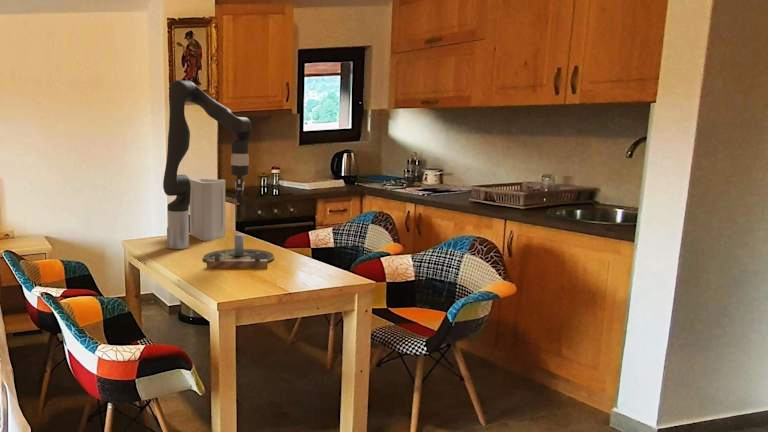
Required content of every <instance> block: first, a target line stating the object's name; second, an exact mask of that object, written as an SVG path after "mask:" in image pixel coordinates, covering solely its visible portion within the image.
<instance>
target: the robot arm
mask: <svg viewBox="0 0 768 432" xmlns="http://www.w3.org/2000/svg"><path fill="white" fill-rule="evenodd" d="M168 89H169V90H168V100H169V103H168V104H169V119H168V120H169V121H168V122H169V123H168V133H167V153H166V164H165V168H164V175H163V183H162V187H163V192H164V194H165V195H166V196H169V197H173V196H174V197H175V196H176V197H175V198H174V200H172V201H171V202H169V203H168V204H167V227H166V248H167V249H172V250H182V249H183V250H184V249H188V248H189V247H190V192H191V184H190V180H189V179H190V177H189V176H188V175H187V174H178V169H179V167H180V163H181V162H182V160H183V159H184V157H185V156H186V154H187V152H188V150H189V148H190V143H191V142H190V140H191V130H190V126H189V125H188V121H187V119H186V115H185V105H186V103H188V102H190V103H192V104H195V105H197V106H198V107H200V108H202V109H203V111H204V112H205V113H206V115H208V116H209V117H210V118H211V119H213V120H215V121H216V122H218V123H219V124H221V125H222V126H223V127H224V128H226V130H228V131H229V132H230V133H233V134H235V136H236V137H235V138H234V140H232V142H231V156H230V175H231V176H236V178H235V179H234V184H235V185H234V186H235V190H236V191H235V193H236V203H237V204H242V203H243V200H244V199H243V198H244V189H245V181H246V180H245V178H244V176H245V177H247V176H249V175H250V164H249V163H250V158H249V143H250V138H251V134H252V123H251V120H250V119H249V118H248V117H245V116H236V115H235V114H233V111H232V110H231V109H229V108H228V107H227V106H225V105H223V104H221V103H220V102H218V101H217V100H215V99H213V98H212V97H211V96H209V95H208V94H207V93H206V92H204V91H203V90H202V89H201V88H200V87H199V86H197V85H196V84H195V83H194V82H193V81H191V80H186V79H185V80H181V79H180V80H173V81H172V82H171V83H170V86H169V88H168Z"/></svg>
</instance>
